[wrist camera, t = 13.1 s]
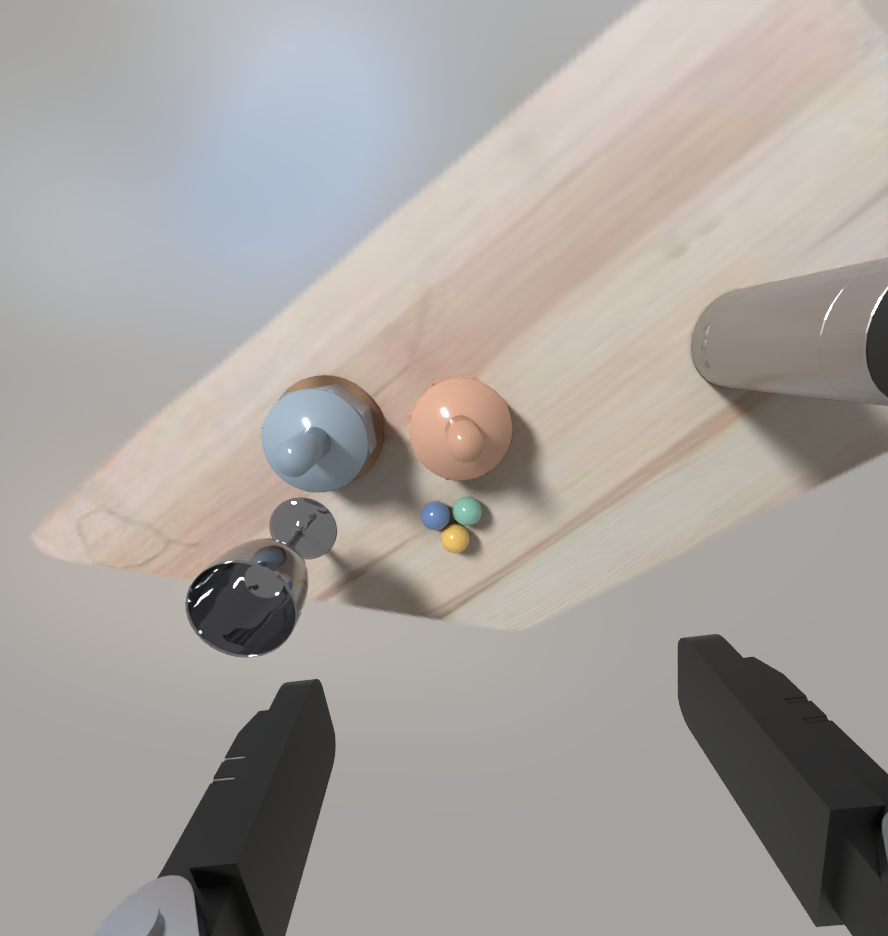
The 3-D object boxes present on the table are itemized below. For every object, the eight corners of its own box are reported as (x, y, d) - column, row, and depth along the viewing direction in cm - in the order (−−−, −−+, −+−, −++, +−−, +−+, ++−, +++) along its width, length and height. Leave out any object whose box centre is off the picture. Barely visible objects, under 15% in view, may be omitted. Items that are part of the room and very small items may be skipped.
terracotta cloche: (498, 369, 41) (520, 374, 30) (507, 459, 44) (531, 493, 33) (405, 382, 41) (394, 392, 31) (420, 472, 44) (415, 510, 33)
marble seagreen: (478, 490, 44) (481, 500, 42) (481, 516, 45) (484, 528, 42) (450, 494, 44) (451, 504, 42) (454, 520, 45) (455, 532, 42)
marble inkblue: (447, 495, 44) (448, 505, 42) (451, 521, 45) (452, 532, 42) (419, 499, 45) (418, 509, 42) (423, 525, 45) (423, 537, 42)
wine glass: (327, 572, 47) (278, 670, 32) (256, 548, 46) (174, 638, 31) (350, 509, 45) (309, 583, 30) (277, 483, 44) (199, 546, 29)
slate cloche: (365, 378, 41) (340, 387, 30) (383, 469, 43) (365, 508, 32) (272, 392, 41) (213, 406, 30) (294, 482, 43) (247, 524, 32)
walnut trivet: (372, 367, 41) (371, 367, 40) (392, 475, 44) (391, 476, 43) (261, 384, 41) (258, 384, 41) (288, 490, 44) (286, 492, 43)
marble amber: (466, 517, 45) (468, 529, 42) (469, 543, 46) (472, 555, 43) (438, 521, 45) (439, 533, 42) (442, 547, 46) (443, 560, 43)
